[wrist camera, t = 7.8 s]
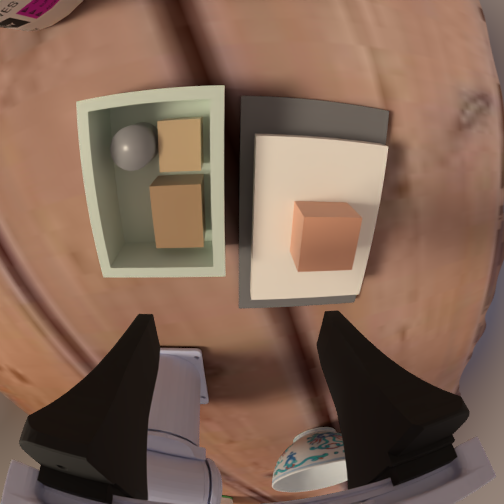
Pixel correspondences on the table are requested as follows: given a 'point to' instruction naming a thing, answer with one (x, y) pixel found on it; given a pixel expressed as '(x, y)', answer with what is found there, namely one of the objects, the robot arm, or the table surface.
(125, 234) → the storage box
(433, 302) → the table surface
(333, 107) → the mat
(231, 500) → the cup
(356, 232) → the lid
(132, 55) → the table surface
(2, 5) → the supplement can
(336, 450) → the chinaware
